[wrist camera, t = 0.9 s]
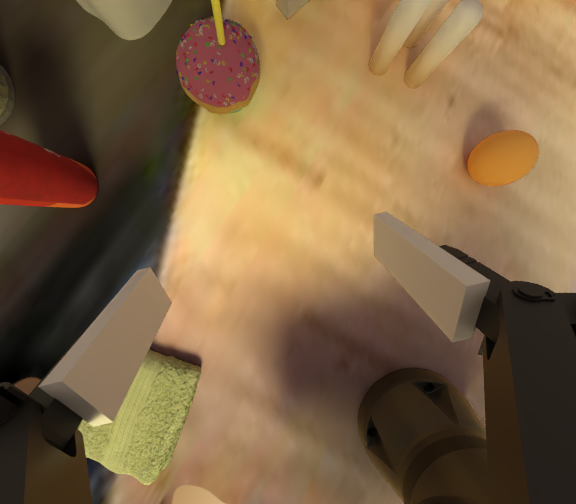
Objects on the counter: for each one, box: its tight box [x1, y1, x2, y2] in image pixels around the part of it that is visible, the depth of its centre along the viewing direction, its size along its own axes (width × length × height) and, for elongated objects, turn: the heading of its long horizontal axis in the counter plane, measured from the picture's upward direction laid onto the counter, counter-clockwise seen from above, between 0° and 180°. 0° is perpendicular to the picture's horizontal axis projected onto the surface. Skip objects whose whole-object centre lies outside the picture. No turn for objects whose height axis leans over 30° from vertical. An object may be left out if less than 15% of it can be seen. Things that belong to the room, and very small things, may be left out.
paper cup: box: [0, 130, 98, 208], centre depth 21 cm, size 8×8×14 cm
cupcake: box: [175, 0, 260, 114], centre depth 22 cm, size 9×8×12 cm
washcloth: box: [78, 348, 201, 485], centre depth 30 cm, size 13×18×3 cm
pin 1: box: [369, 0, 431, 75], centre depth 24 cm, size 2×2×8 cm
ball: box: [467, 130, 539, 186], centre depth 26 cm, size 6×6×6 cm
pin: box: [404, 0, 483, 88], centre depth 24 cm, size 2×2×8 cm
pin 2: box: [403, 0, 449, 48], centre depth 23 cm, size 2×2×8 cm
